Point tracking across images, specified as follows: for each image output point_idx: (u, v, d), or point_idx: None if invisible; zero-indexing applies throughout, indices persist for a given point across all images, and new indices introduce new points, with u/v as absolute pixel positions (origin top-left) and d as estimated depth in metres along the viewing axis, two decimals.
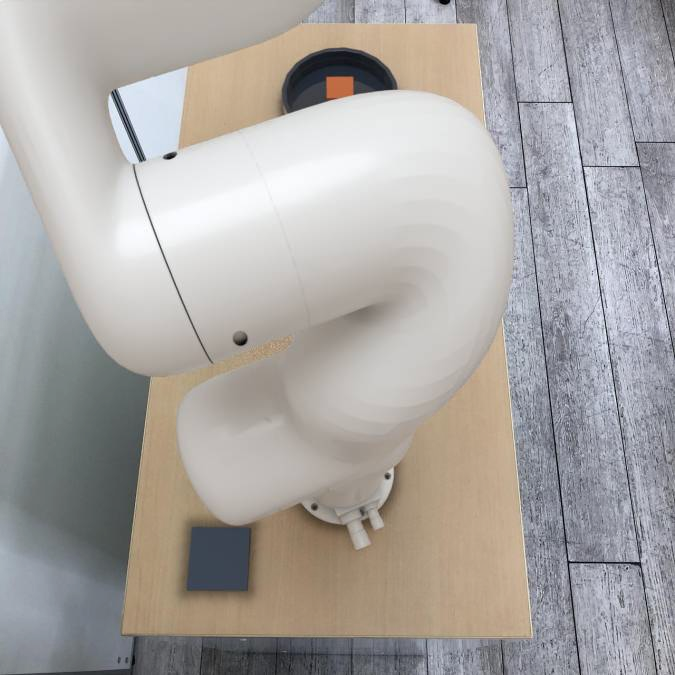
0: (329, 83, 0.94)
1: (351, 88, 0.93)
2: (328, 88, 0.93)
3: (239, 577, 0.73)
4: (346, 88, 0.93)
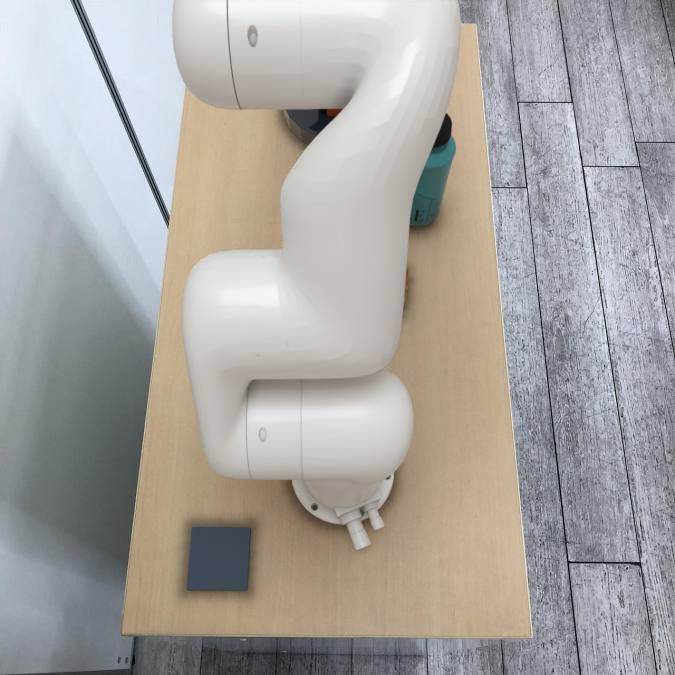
0: None
1: None
2: None
3: (239, 577, 0.73)
4: None
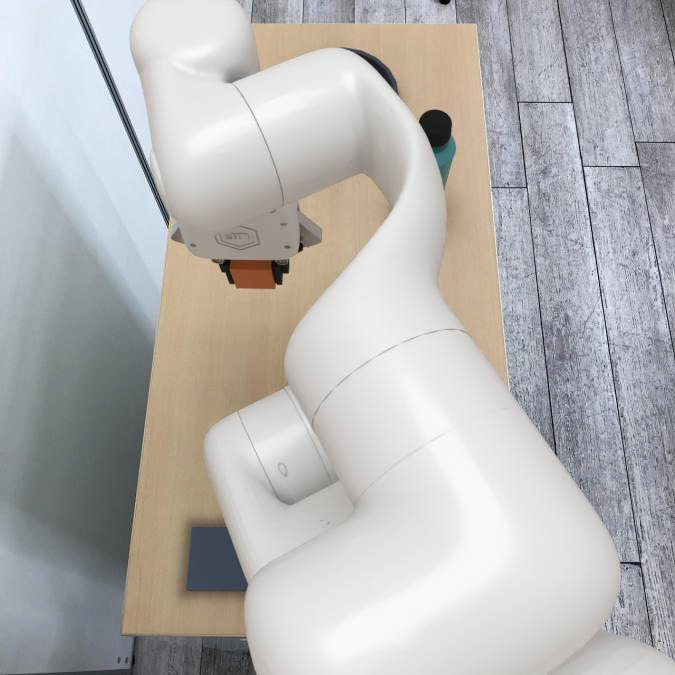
0: None
1: None
2: None
3: (239, 577, 0.73)
4: None
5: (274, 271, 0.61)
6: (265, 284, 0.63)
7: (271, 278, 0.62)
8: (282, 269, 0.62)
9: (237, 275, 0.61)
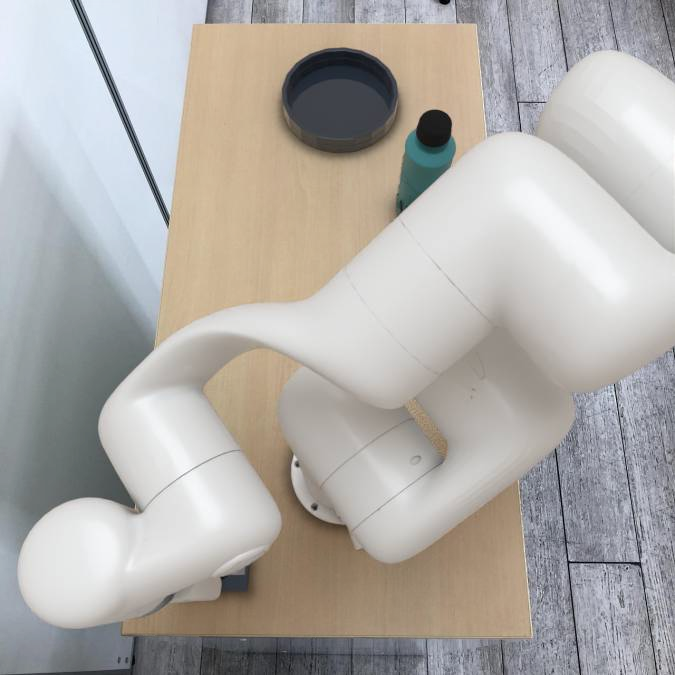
0: None
1: None
2: None
3: (239, 577, 0.73)
4: None
5: None
6: None
7: None
8: None
9: None
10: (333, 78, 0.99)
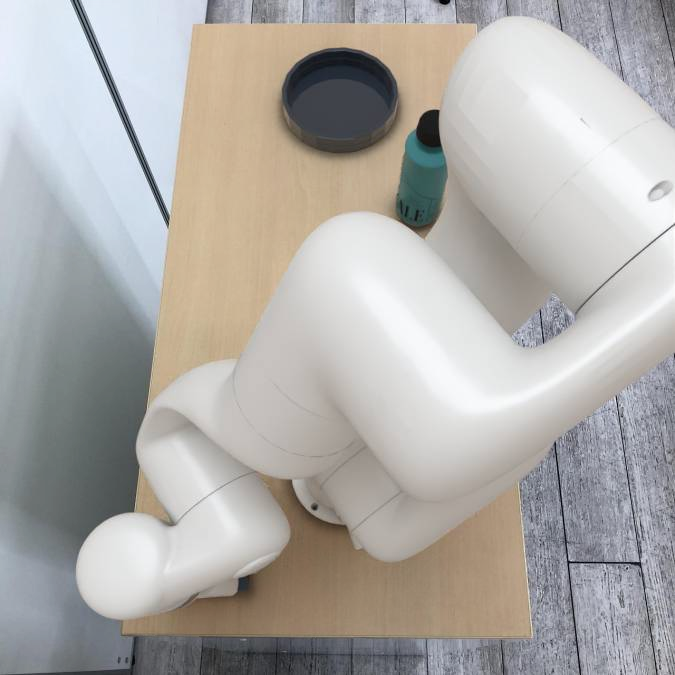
0: None
1: None
2: None
3: None
4: None
5: None
6: None
7: None
8: None
9: None
10: (333, 78, 0.99)
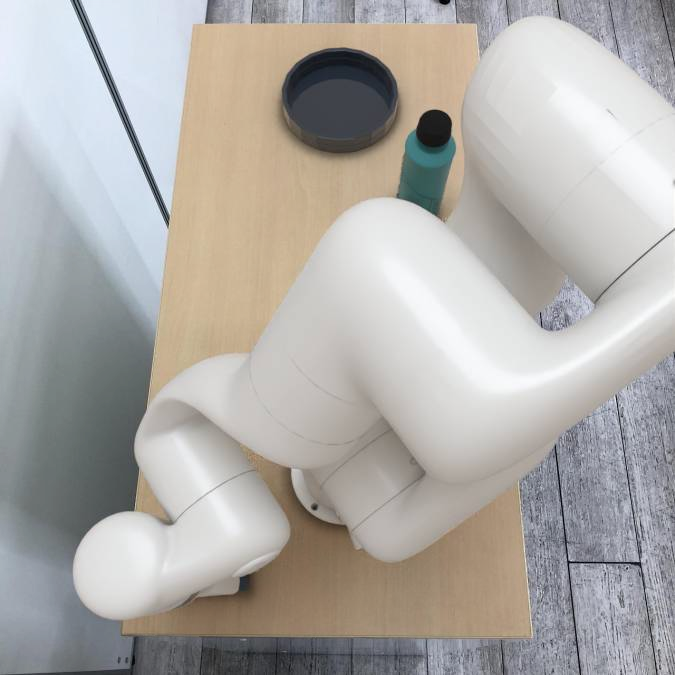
0: None
1: None
2: None
3: (239, 577, 0.73)
4: None
5: None
6: None
7: None
8: None
9: None
10: (333, 78, 0.99)
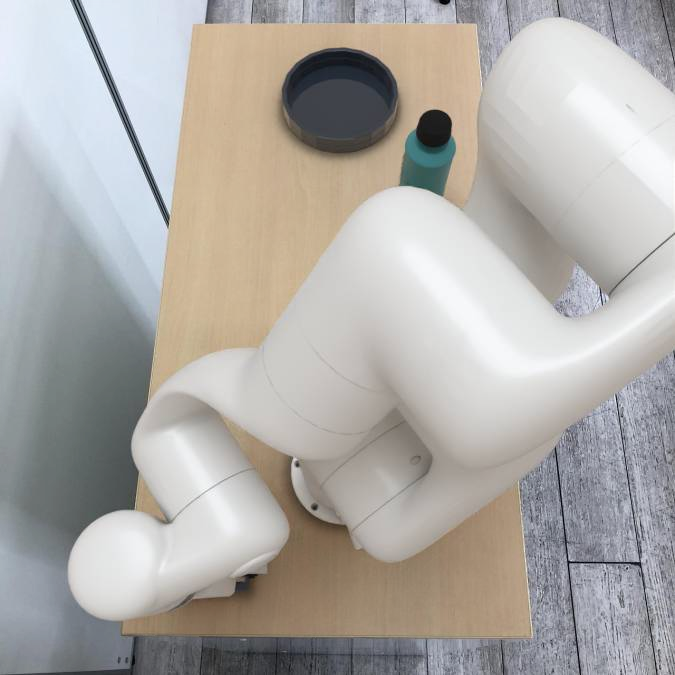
0: None
1: None
2: None
3: None
4: None
5: None
6: None
7: None
8: None
9: None
10: (333, 78, 0.99)
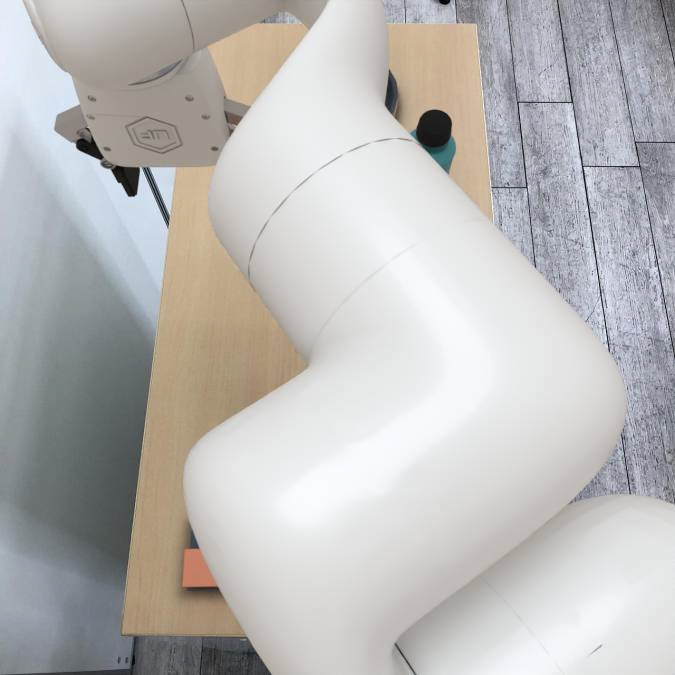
0: (187, 561, 0.70)
1: None
2: (185, 570, 0.70)
3: None
4: None
5: None
6: None
7: None
8: None
9: None
10: None
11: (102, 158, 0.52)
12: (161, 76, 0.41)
